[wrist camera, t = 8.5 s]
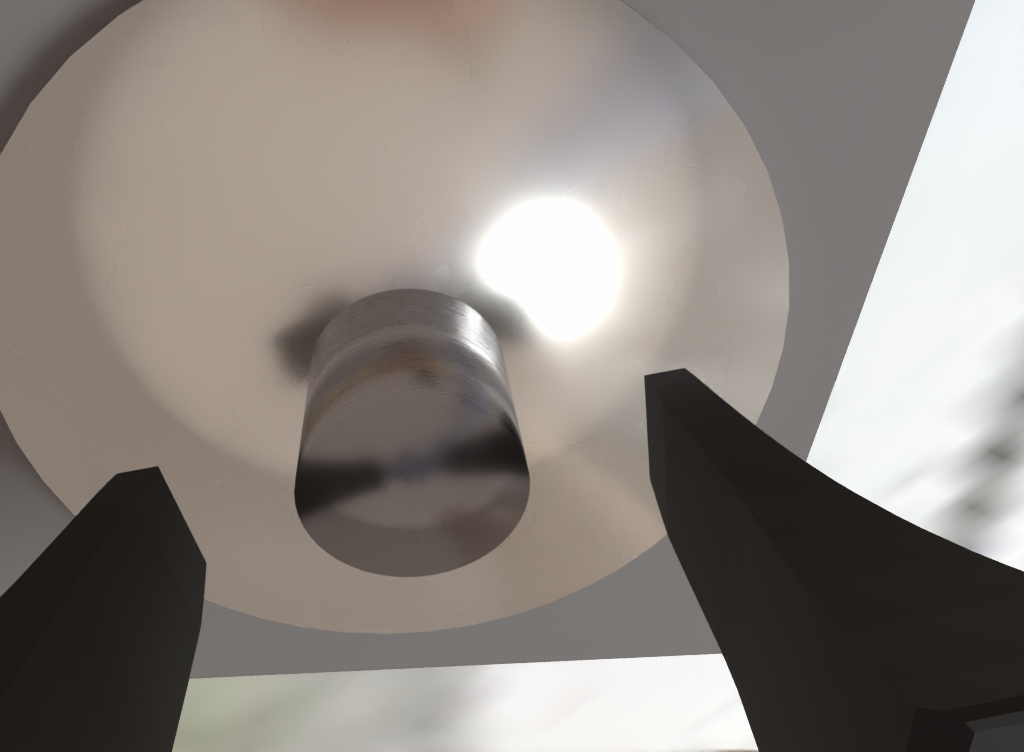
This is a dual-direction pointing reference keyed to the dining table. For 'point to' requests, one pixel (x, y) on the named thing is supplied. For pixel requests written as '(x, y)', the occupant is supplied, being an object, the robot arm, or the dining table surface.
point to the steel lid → (382, 290)
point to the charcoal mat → (810, 324)
